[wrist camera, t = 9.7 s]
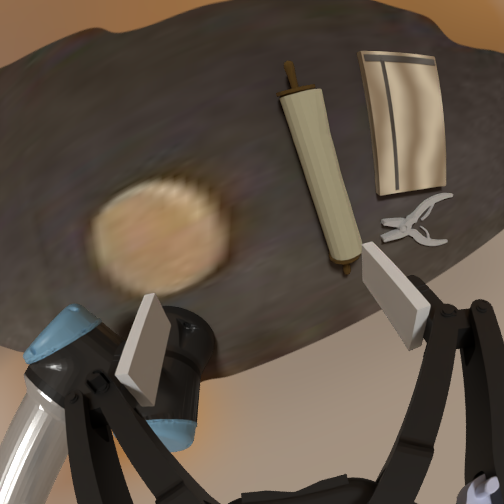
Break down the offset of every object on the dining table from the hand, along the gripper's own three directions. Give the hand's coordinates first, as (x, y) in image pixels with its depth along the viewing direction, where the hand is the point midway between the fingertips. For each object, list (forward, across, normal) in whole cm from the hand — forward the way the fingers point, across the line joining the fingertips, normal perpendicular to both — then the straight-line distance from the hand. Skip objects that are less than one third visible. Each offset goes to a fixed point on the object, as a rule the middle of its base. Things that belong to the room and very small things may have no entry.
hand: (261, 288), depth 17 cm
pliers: (+23, -27, +11) cm, 37 cm away
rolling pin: (+24, -11, 0) cm, 26 cm away
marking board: (+22, -26, -6) cm, 35 cm away
